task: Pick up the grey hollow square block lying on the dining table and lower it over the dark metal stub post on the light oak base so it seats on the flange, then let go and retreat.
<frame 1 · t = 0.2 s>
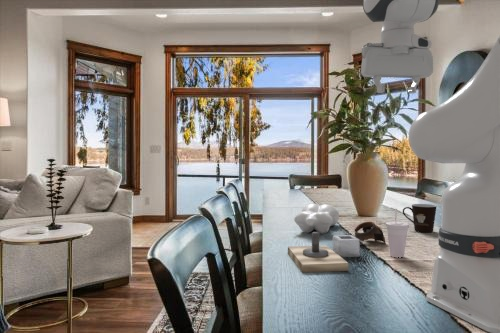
hand: (396, 92, 104), 47 cm above the table, tool pointing down, fingers open, 8 cm apart
post block: (315, 261, 103), on the table
coffee mug: (420, 230, 143), on the table
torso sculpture: (316, 230, 145), on the table
smoothie: (397, 256, 107), on the table
grey hollow square block: (345, 254, 110), on the table
brown hollow curved piece: (369, 243, 124), on the table
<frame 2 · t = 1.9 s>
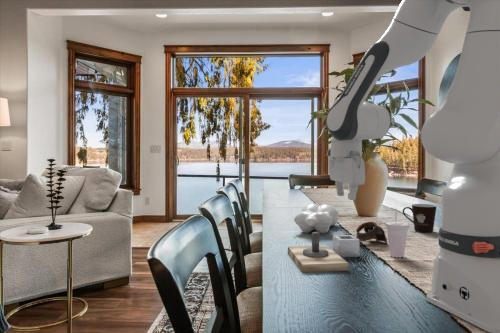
hand: (345, 197, 109), 17 cm above the table, tool pointing down, fingers open, 8 cm apart
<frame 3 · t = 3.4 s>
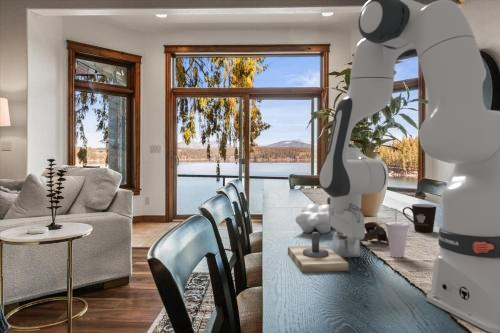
hand: (345, 247, 110), 2 cm above the table, tool pointing down, fingers closed on grey hollow square block, 6 cm apart
grey hollow square block: (345, 254, 110), on the table, touching gripper
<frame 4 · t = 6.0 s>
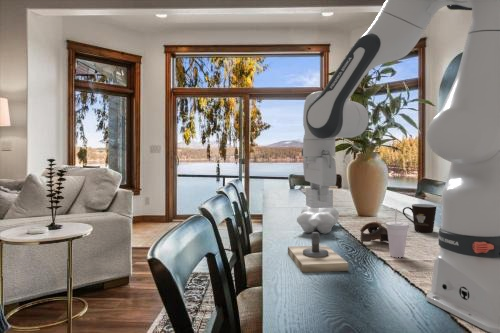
hand: (319, 199, 103), 17 cm above the table, tool pointing down, fingers closed on grey hollow square block, 6 cm apart
grey hollow square block: (319, 206, 103), point 15 cm above the table, touching gripper
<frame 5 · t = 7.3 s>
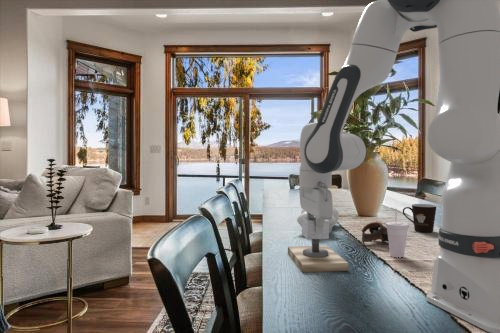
hand: (315, 230, 102), 9 cm above the table, tool pointing down, fingers closed on grey hollow square block, 6 cm apart
grey hollow square block: (315, 236, 102), point 7 cm above the table, touching gripper
when the fingers open (7 cm above the table, at t = 8.2 s): grey hollow square block drops 2 cm, resting on post block.
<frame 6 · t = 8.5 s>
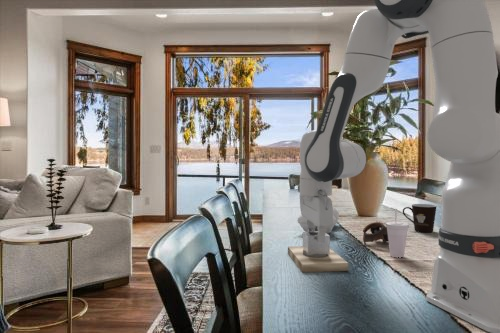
hand: (315, 237, 102), 7 cm above the table, tool pointing down, fingers open, 8 cm apart
grey hollow square block: (315, 251, 102), point 3 cm above the table, touching post block
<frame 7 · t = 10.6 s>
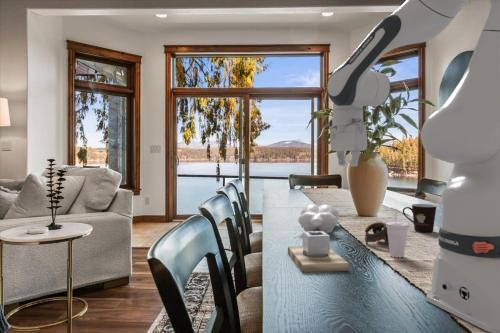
hand: (347, 166, 111), 26 cm above the table, tool pointing down, fingers open, 8 cm apart
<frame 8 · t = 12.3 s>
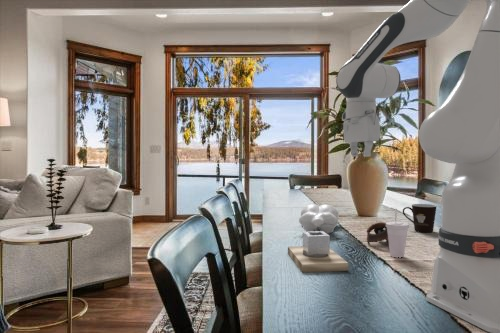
hand: (360, 156, 115), 29 cm above the table, tool pointing down, fingers open, 8 cm apart
at the end: grey hollow square block 0.1 cm off-centre on the post block, point 2.8 cm above the post block's base; grey hollow square block tilted 0°; the gripper is holding nothing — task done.
